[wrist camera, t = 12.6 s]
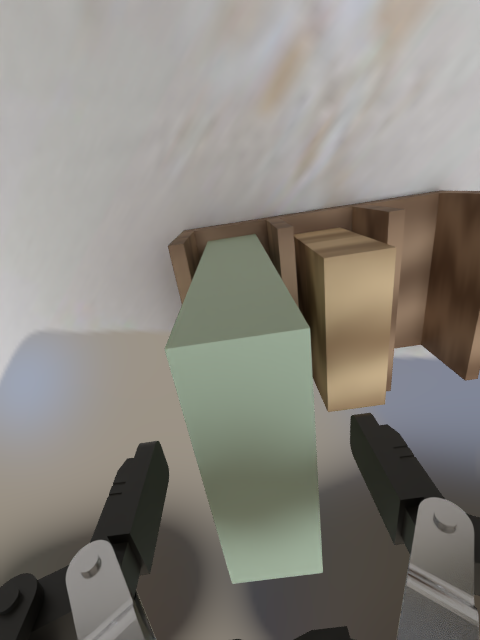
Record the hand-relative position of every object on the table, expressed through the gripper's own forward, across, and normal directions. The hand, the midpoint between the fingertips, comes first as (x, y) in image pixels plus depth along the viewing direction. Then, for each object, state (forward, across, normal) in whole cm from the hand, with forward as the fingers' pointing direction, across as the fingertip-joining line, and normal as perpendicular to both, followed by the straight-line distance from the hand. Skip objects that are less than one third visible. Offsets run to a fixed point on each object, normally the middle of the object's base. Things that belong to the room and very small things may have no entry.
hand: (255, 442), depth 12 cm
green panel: (+16, 0, 0) cm, 16 cm away
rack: (+18, -7, 0) cm, 19 cm away
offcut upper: (+12, -7, 0) cm, 14 cm away
